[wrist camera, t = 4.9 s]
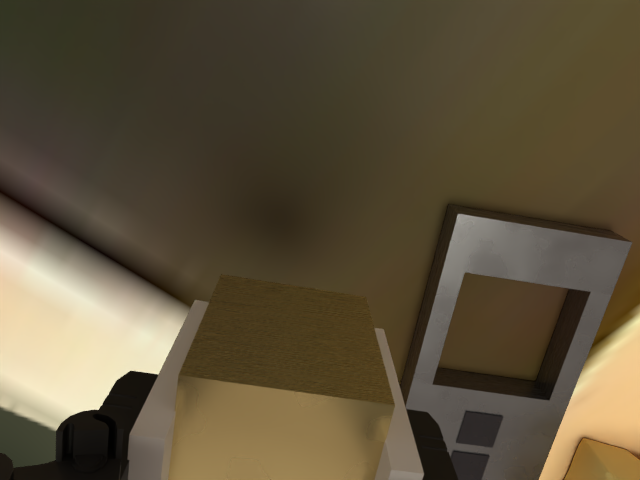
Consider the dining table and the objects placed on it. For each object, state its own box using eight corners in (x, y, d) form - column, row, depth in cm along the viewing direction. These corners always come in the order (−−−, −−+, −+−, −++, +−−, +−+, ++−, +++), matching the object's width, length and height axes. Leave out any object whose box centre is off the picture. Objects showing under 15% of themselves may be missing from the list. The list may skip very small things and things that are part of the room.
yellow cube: (221, 274, 17) (178, 375, 11) (365, 296, 17) (395, 405, 12) (205, 399, 19) (159, 543, 13) (338, 417, 19) (352, 565, 13)
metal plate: (448, 204, 29) (458, 214, 27) (611, 231, 30) (633, 242, 28) (382, 453, 35) (386, 476, 33) (521, 470, 36) (533, 494, 34)
